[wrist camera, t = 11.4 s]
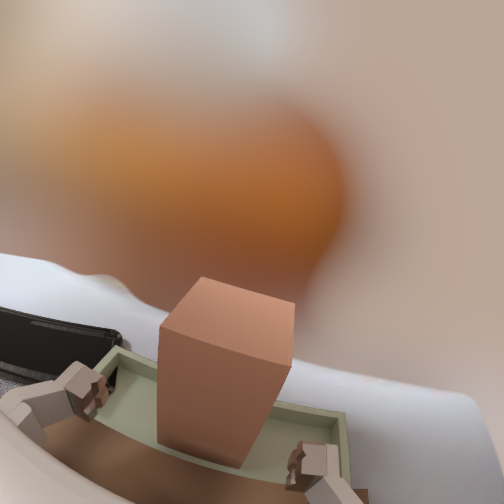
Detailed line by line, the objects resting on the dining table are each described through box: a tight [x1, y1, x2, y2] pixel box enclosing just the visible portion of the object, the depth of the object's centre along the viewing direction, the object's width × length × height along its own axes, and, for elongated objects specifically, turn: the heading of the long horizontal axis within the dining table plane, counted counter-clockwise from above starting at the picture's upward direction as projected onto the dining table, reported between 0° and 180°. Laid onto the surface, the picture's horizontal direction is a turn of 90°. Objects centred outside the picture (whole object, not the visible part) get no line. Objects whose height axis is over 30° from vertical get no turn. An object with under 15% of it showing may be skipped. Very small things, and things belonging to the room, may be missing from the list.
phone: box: [0, 307, 122, 396], centre depth 17 cm, size 8×1×15 cm
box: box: [93, 345, 351, 487], centre depth 15 cm, size 18×7×2 cm, turn 81°
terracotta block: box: [157, 277, 295, 469], centre depth 13 cm, size 5×5×10 cm
